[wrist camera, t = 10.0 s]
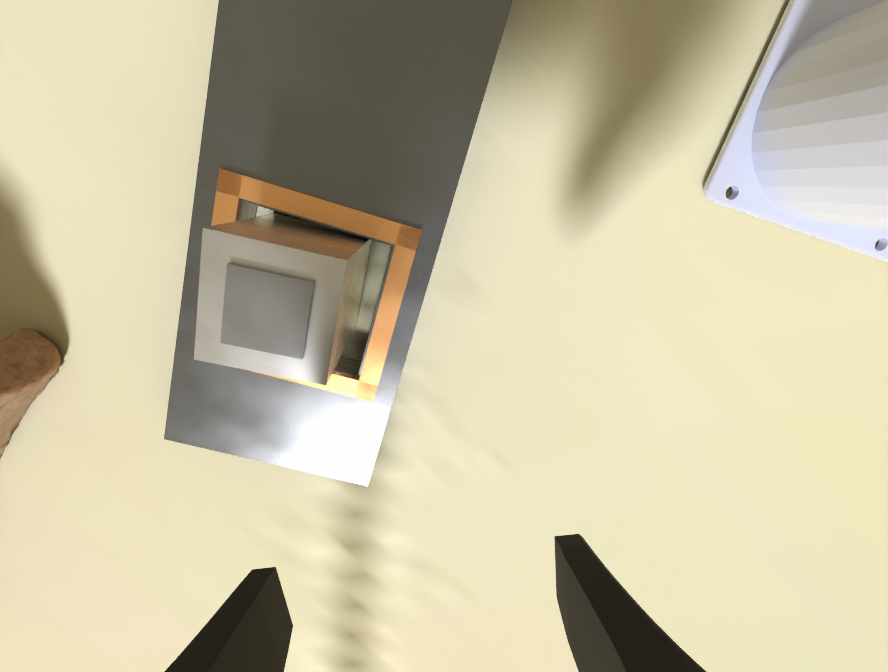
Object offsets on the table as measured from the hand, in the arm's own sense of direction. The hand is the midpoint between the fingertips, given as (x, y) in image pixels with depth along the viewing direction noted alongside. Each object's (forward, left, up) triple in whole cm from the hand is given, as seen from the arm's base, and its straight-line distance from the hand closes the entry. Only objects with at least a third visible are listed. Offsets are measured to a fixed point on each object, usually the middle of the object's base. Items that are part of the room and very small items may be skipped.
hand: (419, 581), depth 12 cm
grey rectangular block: (+6, -5, -10) cm, 13 cm away
